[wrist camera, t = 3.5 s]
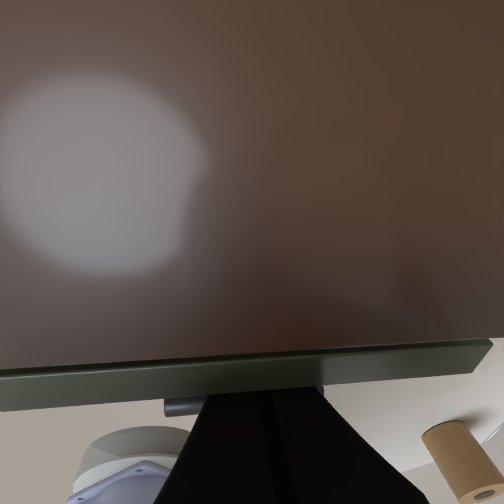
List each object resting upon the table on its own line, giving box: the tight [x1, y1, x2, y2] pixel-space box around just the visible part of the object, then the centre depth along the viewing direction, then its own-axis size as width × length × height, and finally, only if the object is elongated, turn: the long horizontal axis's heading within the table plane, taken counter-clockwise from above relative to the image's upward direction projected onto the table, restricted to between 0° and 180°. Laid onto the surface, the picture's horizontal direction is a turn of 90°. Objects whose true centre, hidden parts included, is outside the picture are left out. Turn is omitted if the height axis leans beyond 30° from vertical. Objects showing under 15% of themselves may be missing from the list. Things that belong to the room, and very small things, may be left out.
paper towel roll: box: [422, 421, 504, 504], centre depth 26 cm, size 4×4×5 cm
